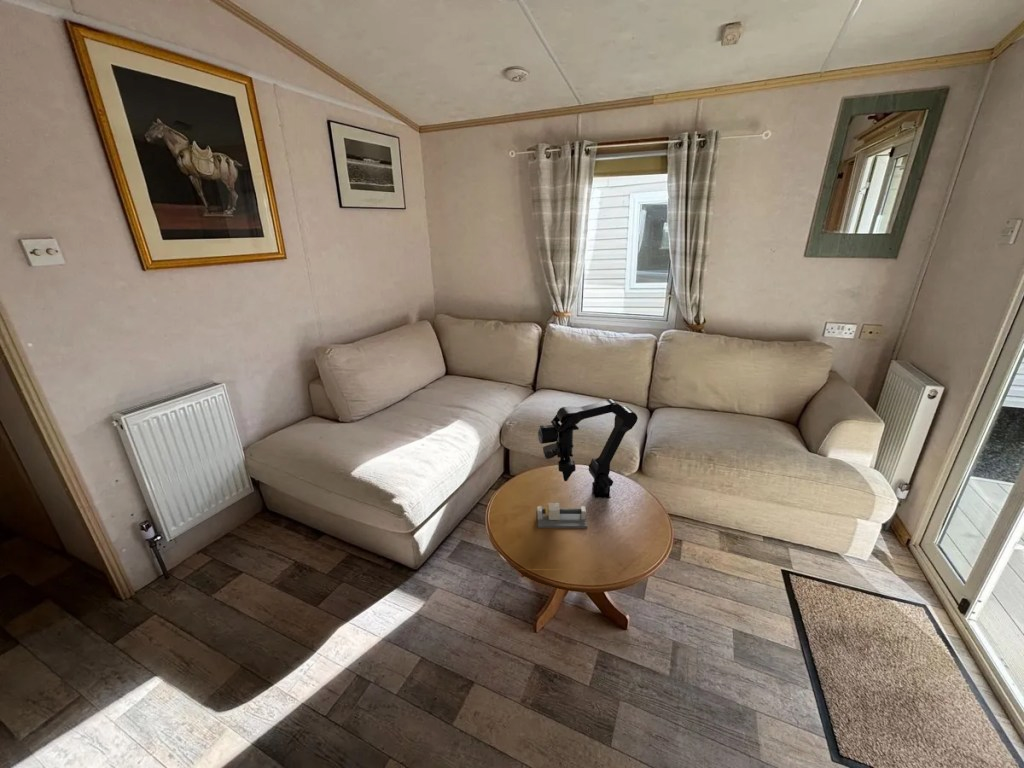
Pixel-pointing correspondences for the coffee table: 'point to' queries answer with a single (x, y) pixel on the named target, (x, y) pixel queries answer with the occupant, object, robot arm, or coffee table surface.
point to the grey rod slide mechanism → (562, 518)
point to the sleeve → (554, 511)
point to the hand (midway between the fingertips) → (564, 474)
